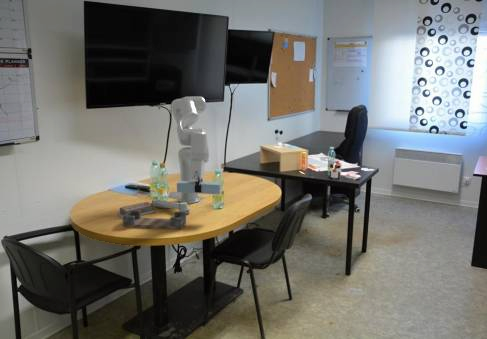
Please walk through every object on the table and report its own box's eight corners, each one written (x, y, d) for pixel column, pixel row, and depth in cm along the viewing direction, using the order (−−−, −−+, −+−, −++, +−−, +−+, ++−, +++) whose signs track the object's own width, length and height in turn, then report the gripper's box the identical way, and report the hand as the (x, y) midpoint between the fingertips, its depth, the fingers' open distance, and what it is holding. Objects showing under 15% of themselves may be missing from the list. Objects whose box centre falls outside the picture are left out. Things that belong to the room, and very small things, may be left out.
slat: (177, 192, 218) (176, 183, 216) (179, 189, 221) (178, 180, 220) (219, 194, 215) (219, 184, 214) (220, 191, 219) (220, 182, 218)
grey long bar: (156, 198, 241) (190, 200, 227) (158, 210, 242) (192, 212, 228) (149, 201, 236) (184, 202, 223) (151, 212, 237) (186, 215, 224)
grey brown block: (146, 199, 236) (155, 204, 229) (147, 208, 237) (155, 213, 230) (115, 206, 225) (123, 211, 218) (116, 215, 226) (123, 220, 219)
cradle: (123, 227, 208) (122, 216, 207) (130, 219, 218) (130, 209, 217) (181, 229, 205) (181, 218, 204) (186, 222, 215) (185, 212, 214)
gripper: (194, 152, 222) (195, 185, 227) (187, 159, 206) (188, 195, 211) (208, 152, 221) (209, 186, 226) (202, 160, 205) (203, 196, 210)
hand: (199, 190), depth 218 cm, fingers closed on slat, 4 cm apart
